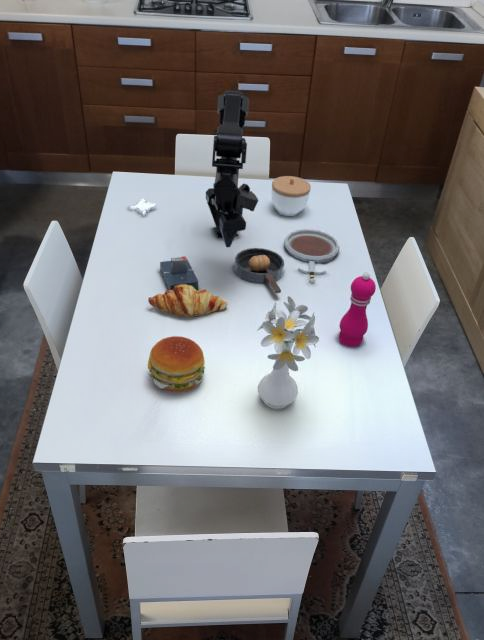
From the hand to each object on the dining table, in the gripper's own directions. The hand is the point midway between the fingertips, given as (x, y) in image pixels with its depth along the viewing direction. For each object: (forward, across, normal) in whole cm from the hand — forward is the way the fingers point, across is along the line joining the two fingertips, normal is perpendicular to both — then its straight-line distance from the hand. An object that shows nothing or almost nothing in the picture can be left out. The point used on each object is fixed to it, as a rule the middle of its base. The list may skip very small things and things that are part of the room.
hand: (223, 238), depth 176 cm
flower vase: (+12, -54, +1) cm, 56 cm away
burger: (+12, -41, +23) cm, 48 cm away
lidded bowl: (+12, +34, -32) cm, 48 cm away
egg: (+11, 0, -11) cm, 16 cm away
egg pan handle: (+9, -11, -12) cm, 18 cm away
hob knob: (+9, 0, +13) cm, 15 cm away
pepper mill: (+12, -36, -25) cm, 45 cm away
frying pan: (+12, +4, -29) cm, 32 cm away
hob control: (+12, 0, +13) cm, 17 cm away
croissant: (+12, -15, +13) cm, 23 cm away
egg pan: (+12, 0, -11) cm, 16 cm away
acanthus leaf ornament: (+12, +42, +15) cm, 47 cm away
